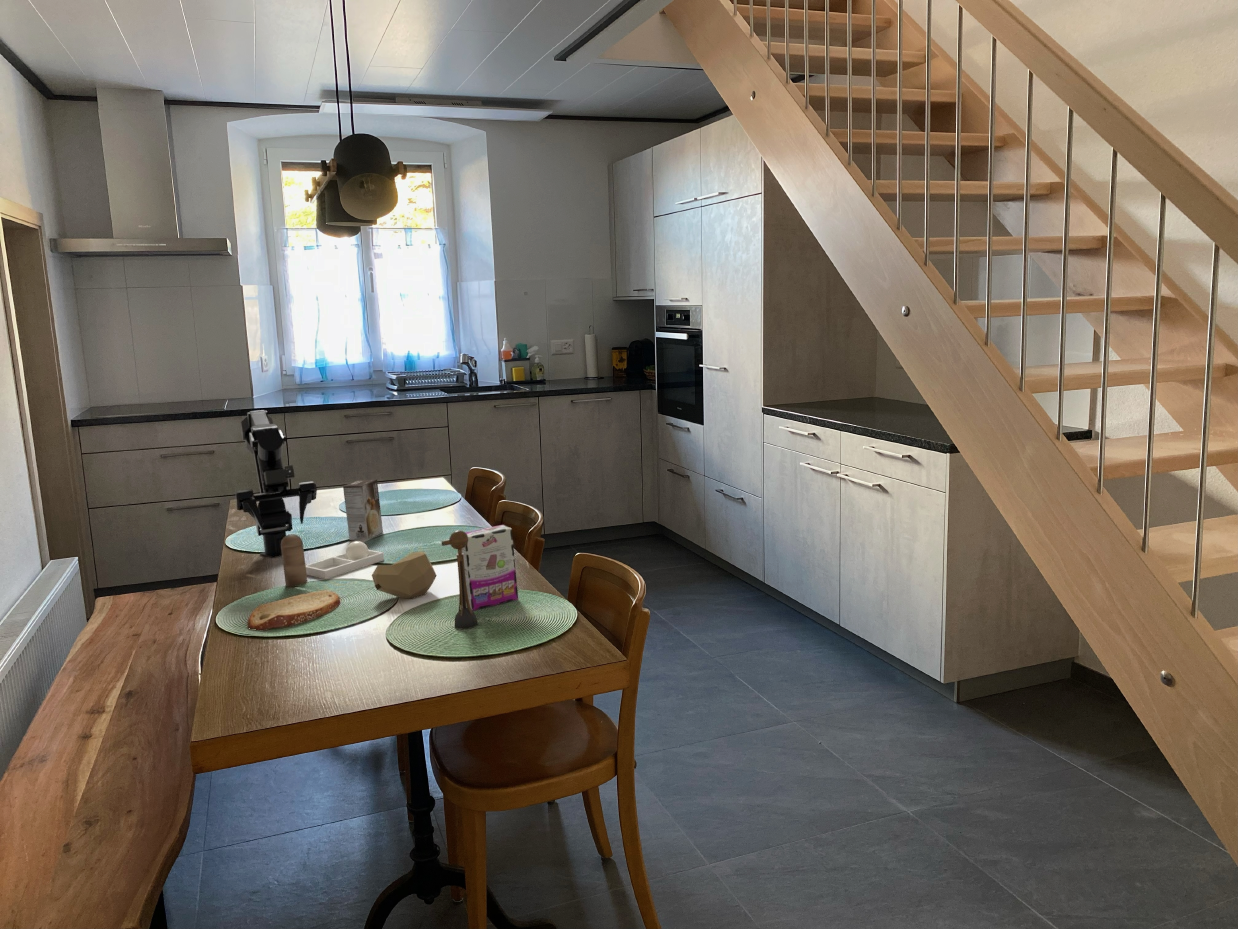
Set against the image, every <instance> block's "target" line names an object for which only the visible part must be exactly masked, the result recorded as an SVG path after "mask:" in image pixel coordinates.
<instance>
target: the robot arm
mask: <svg viewBox="0 0 1238 929" xmlns="http://www.w3.org/2000/svg"><path fill="white" fill-rule="evenodd" d="M246 415H247V416H246V417H245V418H244V419H243V420H241V422H240V433H241V439H242V441H244V442H245V448H246V449H247V450H249V452H250V453H251V454H253V459H254V465H255V470H256V471H255V472H256V476H257V482H258V488H259V493H254V491H253V489H252V488H250V489H244V490H243V489H242V490H237V491H236V492H235V504H236V509H237V510H238V511H242V512H243V513H248V514H249V515H250V517H252V519H254V521H255V527H256V534H257V536H258V537H261V536H262V540H263V541H262V542H263V548H264V551H263V552H262V551H261V552H260V553H259V555H260V556H263V557H269V558H272V559H273V558H274V559H275V558H277V557H282V551H281V541H282V539H283V538H284V537H285V536H287V532H291V531H292V530H293V516H292V513H291V512H290V511H289V509H287V508H286V503H285V501H284V499H287V498H294V497H298V498H299V499H298V500H299V501H298V508H299V509H298V510H299V522H300V524H301V525H302V524H304V517H305V511H306V508H307V506H308V505H309V504H311V503H312V501H314V500H316V499H317V495H318V494H317V492H318V488H317V484H316V483H315V482H314V481H312V480H310V481H305V482H298V487H297V488H290V489H289V480H290V479H295V470H294V465H293V464H291V465H285V466H284V462H283V450H284V444H285V442H287V436H286V435H285V433H284V432H283V431H282V430H281V429H279V426H278V425H277V424H275V423H274V419H273V418H272V417H270V416H269V415H268V411H267V410H265V409H261V410H260V409H259V410H251V411H249V412H247V413H246ZM257 503H258V504H257ZM237 510H236V511H237Z"/></svg>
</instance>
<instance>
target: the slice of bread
mask: <svg viewBox="0 0 1238 929" xmlns="http://www.w3.org/2000/svg"><path fill="white" fill-rule="evenodd" d="M341 603H342V602H341V598H340V597H339V595H338V594H337V593H336V592H333V591H330V590H329V591H328V590H325V589H323V590H319V591H318V590H317V591H311V592H308V593H301V594H297V595H293V596H290V597H289V596H288V597H287V598H283V599H280V600H275V601H272V602H269V603H268V602H267V603H264V604H262V603H261V604H260V605H258V607H255V609H254V610H253V611H252V612H251V613H250V615H249V617H248V619H247V627H248V628H250V629H256V630H255V631H257V630H263V631H267V630H266V629H268V630H273V629H272V628H274V629H281V628H280V627H283V628H287V626H288V627H291V626H292V625H293V626H296V624H297V625H300V624H304V623H306V622H309V620H310V621H311V620H315V619H317V618H319V617H321V616H324V615H327V614H328V613H330V612H332V611H333V610H336V609H337V608H338V607H339V606H340V604H341ZM299 623H300V624H299ZM250 629H249V630H250Z"/></svg>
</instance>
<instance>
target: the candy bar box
mask: <svg viewBox="0 0 1238 929" xmlns="http://www.w3.org/2000/svg"><path fill="white" fill-rule="evenodd" d="M464 532H465V531H464ZM465 533H466V534H467V535H468V544H467V545H466V547H465V548H462V553H464V555H463V556H464V567H465V578H466V586H467V593H468V599H469V604H470V607H471V610H472V611H478V610H480V609H481V610H482V609H484V608H485V609H486V608H488V607H489V608H490V607H493V606H497V605H501V604H505V603H510V602H514V601H516V600H519V592H518V590H519V589H518V580H517V579H518V578H517V572H516V571H517V570H516V560H515V559H516V558H515V548H514V538H513V529H512V528H511V527H509V526H507V525H505V524H500V525H495V526H490V527H485V528H480V529H476V530H471V531H466V532H465ZM466 606H467V603H466Z"/></svg>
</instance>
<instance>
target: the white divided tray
mask: <svg viewBox="0 0 1238 929" xmlns="http://www.w3.org/2000/svg"><path fill="white" fill-rule="evenodd" d="M382 561H385V557H384V551H383V552H382V551H377V550H372V549H368V556H367V557H365V558H362V559H359V560H356V561H352V560H349V559H348V558H347V556H346V552H344V553H341V554H337V555H335V556H330V557H327V558H325V559H321V560H319V561H314V562H311V563H308V564H305V566H306V574H307V576H310V577H315V578H320V579H324V580H328V579H331V578H334V577H337V576H340V575H343V574H347V573H349V572H351V571H352V572H353V571H356V570H358V569H363V568H364V567H367V566H370V565H373V564H377V563H379V562H382Z"/></svg>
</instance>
